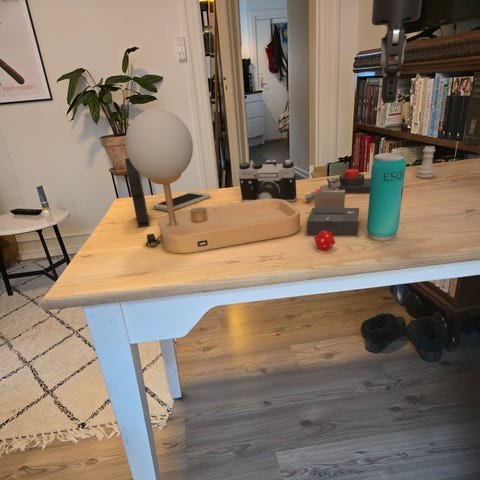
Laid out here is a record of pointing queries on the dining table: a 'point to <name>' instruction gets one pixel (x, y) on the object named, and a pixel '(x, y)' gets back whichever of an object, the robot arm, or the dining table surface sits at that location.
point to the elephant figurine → (325, 188)
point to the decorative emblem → (137, 194)
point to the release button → (352, 173)
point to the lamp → (199, 219)
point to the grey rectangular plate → (329, 201)
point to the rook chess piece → (427, 163)
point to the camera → (267, 180)
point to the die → (324, 240)
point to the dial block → (334, 222)
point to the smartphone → (183, 200)
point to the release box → (355, 184)
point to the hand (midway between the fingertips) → (387, 100)
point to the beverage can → (385, 195)
